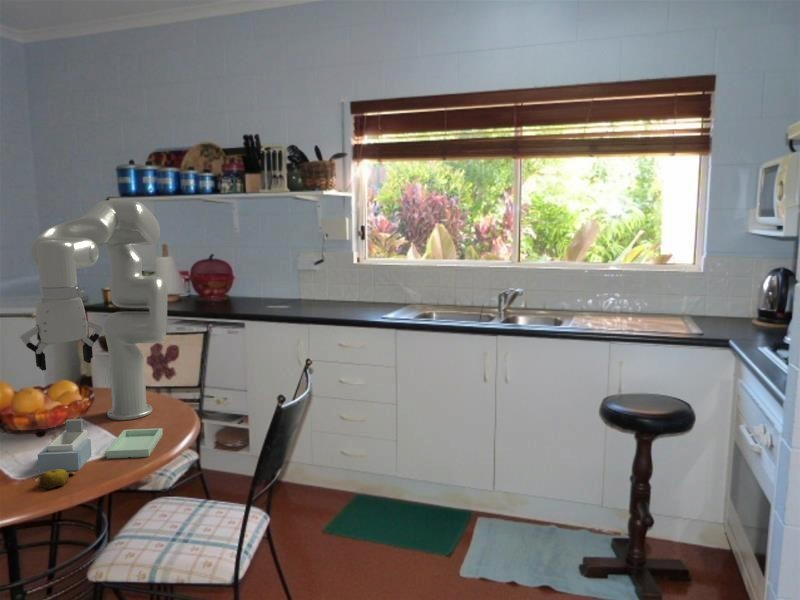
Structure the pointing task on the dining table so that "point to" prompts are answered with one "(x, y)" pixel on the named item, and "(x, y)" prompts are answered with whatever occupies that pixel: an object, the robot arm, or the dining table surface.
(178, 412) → the dining table surface
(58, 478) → the fruit
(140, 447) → the tray
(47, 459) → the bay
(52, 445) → the box
